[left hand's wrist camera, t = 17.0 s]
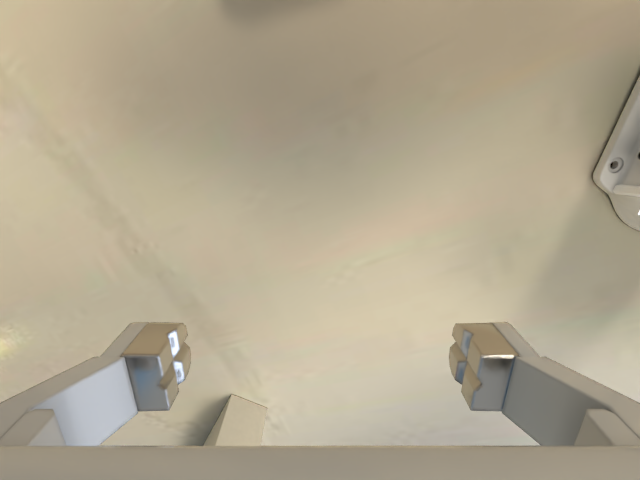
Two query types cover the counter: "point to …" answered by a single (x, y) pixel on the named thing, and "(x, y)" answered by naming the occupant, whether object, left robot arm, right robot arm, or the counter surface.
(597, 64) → the counter surface
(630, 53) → the counter surface
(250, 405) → the box
